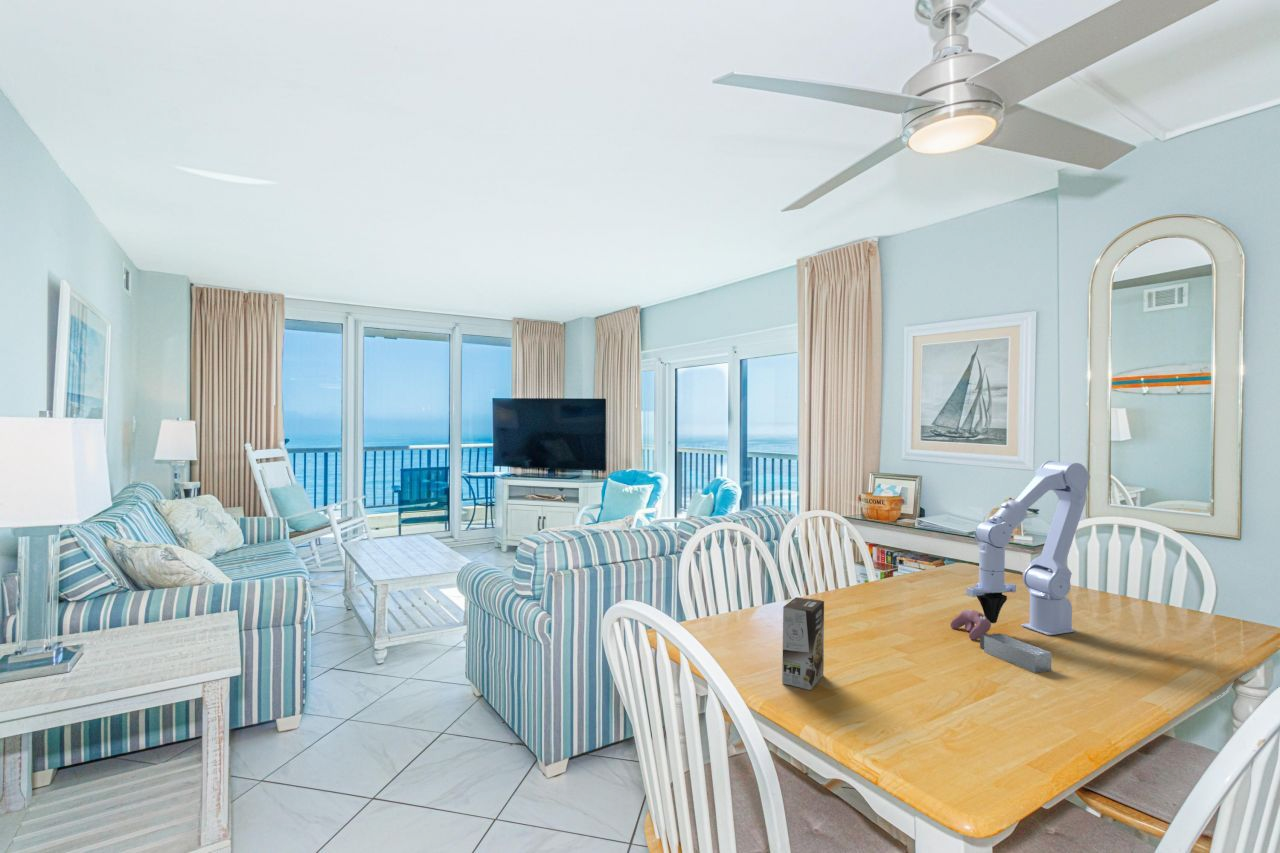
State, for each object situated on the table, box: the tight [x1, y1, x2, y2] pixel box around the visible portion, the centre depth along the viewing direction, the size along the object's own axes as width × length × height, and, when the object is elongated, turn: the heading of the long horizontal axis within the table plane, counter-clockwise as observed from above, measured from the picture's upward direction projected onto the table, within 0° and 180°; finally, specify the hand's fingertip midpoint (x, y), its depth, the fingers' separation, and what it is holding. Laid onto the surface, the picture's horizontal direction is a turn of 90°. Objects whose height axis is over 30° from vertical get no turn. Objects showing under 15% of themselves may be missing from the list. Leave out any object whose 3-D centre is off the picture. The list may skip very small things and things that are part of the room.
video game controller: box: [950, 608, 992, 641], centre depth 160 cm, size 10×5×7 cm, turn 4°
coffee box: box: [781, 597, 825, 691], centre depth 131 cm, size 9×6×16 cm
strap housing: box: [983, 632, 1052, 674], centre depth 142 cm, size 5×13×4 cm, turn 19°
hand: (991, 621), depth 161 cm, fingers closed
